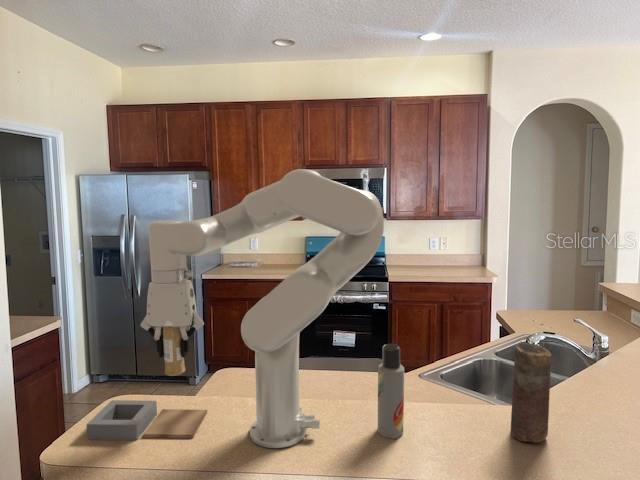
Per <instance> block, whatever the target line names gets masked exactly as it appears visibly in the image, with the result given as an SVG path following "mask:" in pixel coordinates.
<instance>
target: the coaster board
mask: <svg viewBox="0 0 640 480" xmlns="http://www.w3.org/2000/svg"><path fill="white" fill-rule="evenodd" d="M207 414H208V409H174V408H173V409H171V408H169V409H168V408H167V409H166V408H165V409H164V408H162V409H161V411H160V412H159V413H158V414H157V415H156V417H155V418H154V419H153V420H152V422H151V423H150V424H149V425H148V427H147V428H146V429H145V431H144V432H143V433H142V435H143V438H151V439H152V438H154V439H155V438H156V439H157V438H158V439H161V438H162V439H165V438H166V439H194V437H195V435H197V432H198V430H199V429H200V427H201V425H202V423H203V421H204V420H205V418H206V416H207Z"/></svg>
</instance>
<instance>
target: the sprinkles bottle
mask: <svg viewBox="0 0 640 480" xmlns="http://www.w3.org/2000/svg"><path fill="white" fill-rule="evenodd" d="M164 326H166V327H163V347H164V356H163V358H164V359H163V360H164V374H165V376H168V377H169V376H170V377H173V376H175V377H176V376H179V375H182V374H184V373H185V371H186V366H185V357H181V347H180V341H181V340H182V335H181V331H180V328H179V327H173V324H172V323H171V322H170V321H169V320H168V321H166V323H165V325H164Z"/></svg>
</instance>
